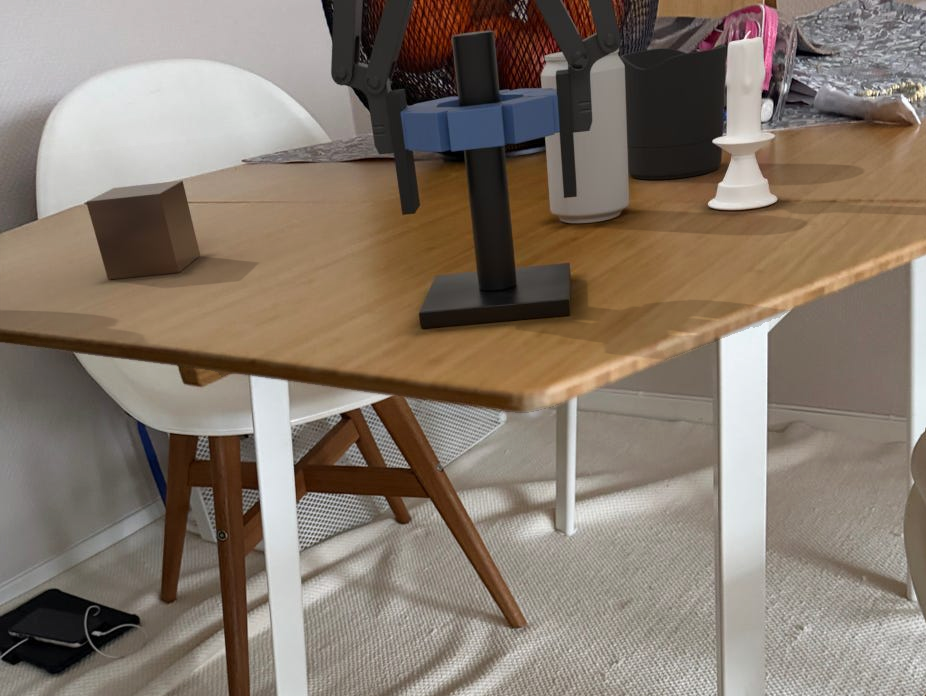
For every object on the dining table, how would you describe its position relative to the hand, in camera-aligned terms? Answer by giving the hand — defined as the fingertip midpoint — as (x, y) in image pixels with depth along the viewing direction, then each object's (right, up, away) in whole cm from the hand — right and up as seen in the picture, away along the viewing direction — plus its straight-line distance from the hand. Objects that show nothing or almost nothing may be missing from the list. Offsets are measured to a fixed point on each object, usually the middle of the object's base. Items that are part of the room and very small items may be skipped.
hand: (490, 201), depth 66 cm
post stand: (+1, -5, +3) cm, 6 cm away
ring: (0, +3, -2) cm, 4 cm away
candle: (+20, +8, +21) cm, 30 cm away
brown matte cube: (-28, +4, +25) cm, 37 cm away
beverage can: (+8, +8, +23) cm, 25 cm away
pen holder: (+18, +17, +36) cm, 44 cm away
